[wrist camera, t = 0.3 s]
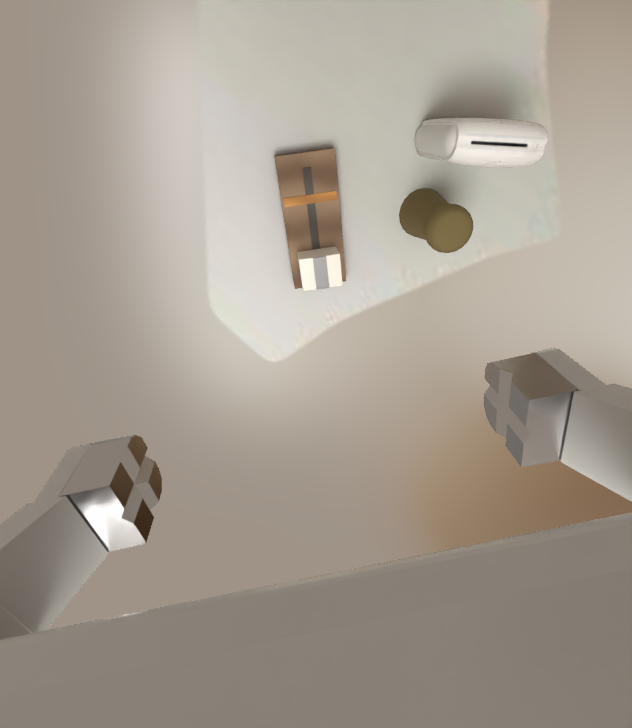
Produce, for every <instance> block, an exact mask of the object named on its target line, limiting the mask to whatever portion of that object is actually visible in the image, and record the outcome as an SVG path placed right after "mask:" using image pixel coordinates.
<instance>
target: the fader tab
mask: <svg viewBox="0 0 632 728" xmlns="http://www.w3.org/2000/svg"><path fill="white" fill-rule="evenodd" d="M297 254H298V261H299V268H300V275H301V282H302V287H303V291H307V290H314V289H317V290H318V289H324V288H329V287H334V286H341V285H342V274H341V262H340V253H339V252H338V250H337V248H336V246H334V247H327V248H321V249H314V250H307V251H300V252H297Z"/></svg>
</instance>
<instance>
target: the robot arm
mask: <svg viewBox="0 0 632 728" xmlns="http://www.w3.org/2000/svg"><path fill="white" fill-rule="evenodd" d="M485 379H486V381H487V382H488V383H489V384H490V387H489V388H488V389H487V391H486V392H485V394H484V408H485V412H486V416H487V419H488V421H489V423H490V425H491V427H492V428H493V429H494V431H495V432H496V433H498V434H500V435H503V436H505V437H506V447H507V448H508V450H509V451H510V453H511V454H512V455H513V457H514V458H515V459H516V460H517V462H518V463H519V465H520V466H521V467H524V466H529V465H535V464H541V463H546V462H552V461H558V460H561V462H562V463H564V464H565V465H567V466H569V467H571V468H573V469H574V470H576V471H578V472H580V473H581V474H583V475H585V476H587V477H589V478H591V479H592V480H594V481H596V482H598V483H599V484H601V485H603V486H605V487H607V488H608V489H610V490H612V491H614V492H616V493H617V494H619V495H621V496H623V497H625V498H626V499H628V500H630V501H632V389H631V388H628V387H623V386H620V385H617V384H610V385H606V384H604V383H603V382H602V381H600V380H599V379H598V378H596V377H595V376H594V375H592V374H591V373H590V372H589V371H587V370H586V369H585V368H583V367H582V366H581V365H579V364H578V363H577V362H575V361H574V360H573V359H572V358H570V357H569V356H567V355H566V354H565V353H564V352H562V351H561V350H559V349H556V348H550V349H546V350H542V351H538V352H534V353H531V354H528V355H523V356H518V357H513V358H509V359H504V360H500V361H495V362H490V363H487V366H486V369H485ZM146 451H147V446H146V444H145V443H144V441H143V439H142V437H140V436H137V435H133V436H127V437H122V438H116V439H111V440H106V441H101V442H95V443H90V444H85V445H80V446H75V447H72V448H70V449H69V450H67V451H66V453H65V455H64V456H63V458H62V459H61V461H60V462H59V464H58V466H57V467H56V469H55V470H54V472H53V474H52V475H51V477H50V478H49V480H48V481H47V483H46V484H45V486H44V487H43V489H42V491H41V492H40V494H39V495H38V497H37V498H36V500H35V502H33V503H29V504H26V505H25V506H23V507H22V508H21V509H19V510H18V511H17V512H15V513H14V514H13V515H12V516H10V517H9V518H8V519H6V520H5V521H4V522H2V523H1V524H0V728H632V513H628V514H623V515H618V516H613V517H609V518H603V519H598V520H593V521H588V522H583V523H578V524H573V525H568V526H563V527H558V528H553V529H548V530H543V531H538V532H533V533H528V534H523V535H518V536H513V537H508V538H503V539H498V540H494V541H488V542H483V543H478V544H474V545H469V546H463V547H459V548H453V549H449V550H443V551H438V552H434V553H428V554H424V555H418V556H414V557H408V558H403V559H398V560H394V561H389V562H384V563H379V564H374V565H369V566H364V567H359V568H354V569H349V570H344V571H339V572H334V573H329V574H324V575H319V576H314V577H309V578H304V579H299V580H294V581H289V582H284V583H280V584H274V585H270V586H264V587H260V588H254V589H249V590H244V591H239V592H235V593H229V594H224V595H220V596H214V597H210V598H205V599H200V600H195V601H190V602H185V603H180V604H175V605H170V606H165V607H160V608H155V609H150V610H145V611H140V612H135V613H130V614H125V615H120V616H115V617H110V618H105V619H101V620H95V621H90V622H86V623H80V624H75V625H70V626H66V627H61V628H55V629H51V630H47V629H48V627H49V626H50V625H51V624H52V623H53V621H54V620H55V619H56V618H57V616H58V615H59V614H60V613H61V611H62V610H63V609H64V608H65V607H66V605H67V604H68V603H69V602H70V600H71V599H72V598H73V597H74V596H75V594H76V593H77V592H78V591H79V589H80V588H81V587H82V586H83V585H84V583H85V582H86V581H87V580H88V578H89V577H90V576H91V575H92V573H93V572H94V571H95V570H96V569H97V567H98V566H99V565H100V564H101V562H102V561H103V560H104V559H105V558H106V556H107V555H108V552H109V551H113V550H118V549H122V548H126V547H131V546H135V545H140V544H144V543H146V542H147V539H148V535H149V532H150V529H151V525H152V522H153V519H154V516H153V515H152V513H151V511H150V510H151V509H152V508H153V507H154V506H155V505H156V503H158V501H159V499H160V495H161V491H162V478H161V474H160V471H159V468H158V466H157V464H156V462H155V461H153V460H152V459H150V458H148V457H146V456H145V454H146Z"/></svg>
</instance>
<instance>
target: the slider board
mask: <svg viewBox="0 0 632 728" xmlns="http://www.w3.org/2000/svg"><path fill="white" fill-rule="evenodd" d="M275 162H276V169H277V175H278V182H279V188H280V195H281V201H282V208H283V214H284V221H285V227H286V234H287V240H288V247H289V253H290V260H291V266H292V273H293V280H294V286H295V289H297V288H303V287H302V282H301V275H300V268H299V261H298V254H297V252H300V251H307V250H314V249H321V248H327V247H334V246H336V248H337V250H338V252H339V253H340V262H341V274H342V282H344V281H346V275H345V263H344V251H343V239H342V227H341V215H340V203H339V191H338V179H337V167H336V155H335V148H327V149H320V150H313V151H306V152H299V153H292V154H285V155H277V156H275Z"/></svg>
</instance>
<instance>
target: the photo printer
mask: <svg viewBox="0 0 632 728" xmlns="http://www.w3.org/2000/svg"><path fill="white" fill-rule="evenodd" d="M547 140H548V136H547V131H546V129H545V128H544V127H543V126H542V125H540V124H537V123H534V122H529V121H522V120H511V119H495V118H442V119H430V120H426V121H423V122H422V125H421V126H420V128H419V129H418V131H417V133H416V137H415V145H416V149H417V150H418V155H420V156H423V157H427V158H432V159H437V160H442V161H446V162H451V163H455V164H460V165H468V166H481V167H501V168H513V167H523V166H528V165H531V164H534V163H535V162H537V161H538V160H539V159H540V158H541V157H542V155H543V154H544V148H545V145H546V142H547Z"/></svg>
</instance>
